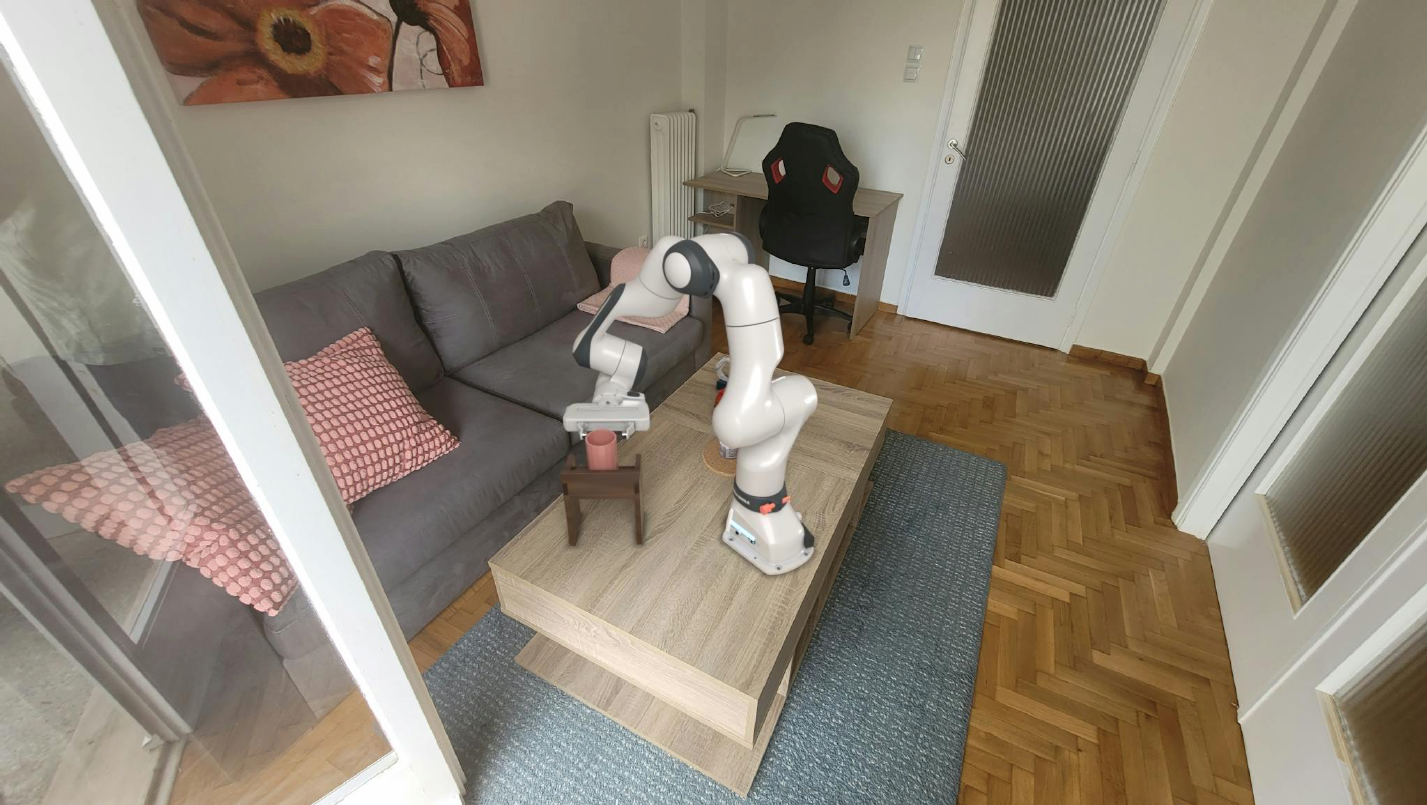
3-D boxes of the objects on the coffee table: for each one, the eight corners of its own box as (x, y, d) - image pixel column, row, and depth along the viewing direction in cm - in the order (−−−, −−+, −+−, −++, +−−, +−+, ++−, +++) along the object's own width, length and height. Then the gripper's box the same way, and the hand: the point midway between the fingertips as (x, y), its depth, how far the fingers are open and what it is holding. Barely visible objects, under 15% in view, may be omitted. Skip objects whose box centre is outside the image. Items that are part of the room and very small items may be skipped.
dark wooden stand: (576, 515, 143) (567, 445, 131) (644, 514, 144) (640, 444, 132) (570, 545, 134) (560, 473, 123) (642, 544, 135) (638, 472, 124)
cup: (623, 478, 131) (621, 440, 126) (596, 488, 128) (592, 450, 123) (611, 463, 136) (608, 425, 130) (584, 472, 133) (580, 434, 127)
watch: (720, 380, 200) (721, 352, 195) (740, 388, 197) (742, 359, 191) (711, 387, 196) (712, 358, 191) (731, 395, 193) (733, 365, 187)
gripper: (565, 393, 142) (556, 426, 130) (650, 393, 143) (648, 425, 131) (568, 415, 145) (559, 448, 133) (651, 415, 147) (649, 448, 135)
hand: (604, 437), depth 132 cm, fingers open, 8 cm apart
